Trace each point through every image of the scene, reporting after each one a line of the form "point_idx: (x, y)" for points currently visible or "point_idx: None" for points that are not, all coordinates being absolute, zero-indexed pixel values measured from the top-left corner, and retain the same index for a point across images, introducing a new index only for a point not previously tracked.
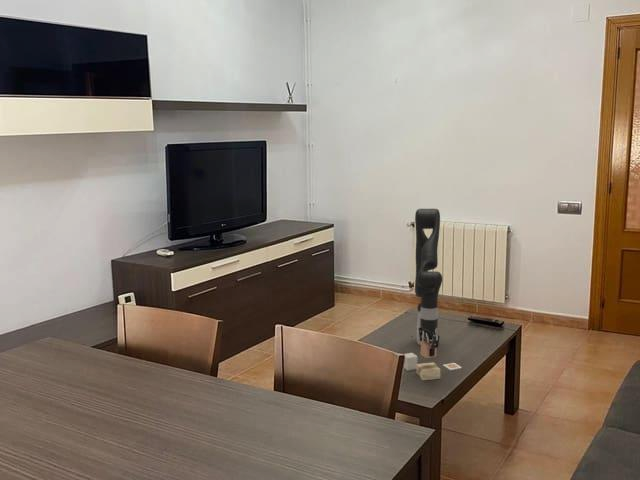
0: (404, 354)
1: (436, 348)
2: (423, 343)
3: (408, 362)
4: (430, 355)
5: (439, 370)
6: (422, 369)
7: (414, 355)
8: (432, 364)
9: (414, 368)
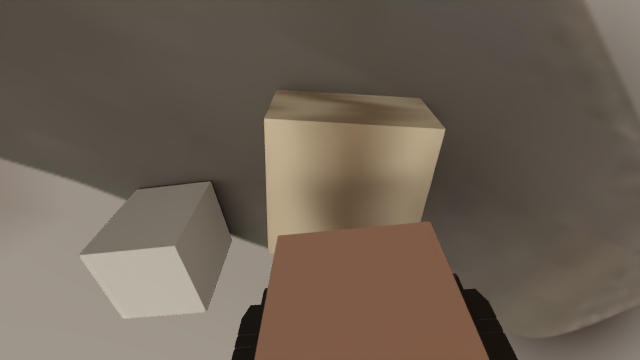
0: (125, 309)
1: (474, 326)
2: None
3: (215, 278)
4: None
5: (439, 132)
6: None
7: (149, 259)
8: (311, 150)
9: (216, 205)
